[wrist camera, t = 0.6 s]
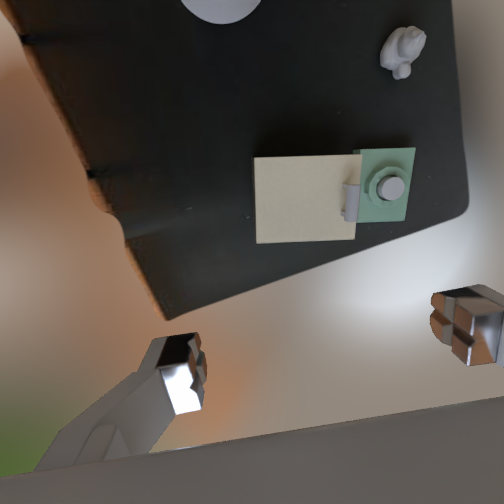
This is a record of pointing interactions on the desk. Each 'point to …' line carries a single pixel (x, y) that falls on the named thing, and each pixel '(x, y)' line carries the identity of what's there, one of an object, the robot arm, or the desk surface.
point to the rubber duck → (402, 50)
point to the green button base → (372, 172)
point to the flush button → (390, 188)
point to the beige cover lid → (307, 197)
